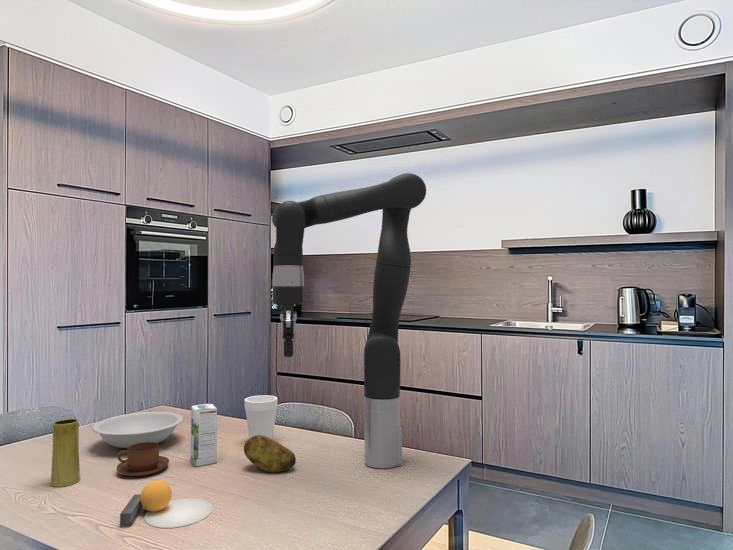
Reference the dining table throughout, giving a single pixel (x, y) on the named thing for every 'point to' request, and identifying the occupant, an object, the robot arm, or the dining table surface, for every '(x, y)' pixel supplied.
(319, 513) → the dining table surface
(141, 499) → the ball
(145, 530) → the dining table surface
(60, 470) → the vase
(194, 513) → the white flat disc
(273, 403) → the foam cup
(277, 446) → the potato
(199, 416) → the syrup box
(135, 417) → the soup bowl
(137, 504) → the strip
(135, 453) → the cup and saucer
